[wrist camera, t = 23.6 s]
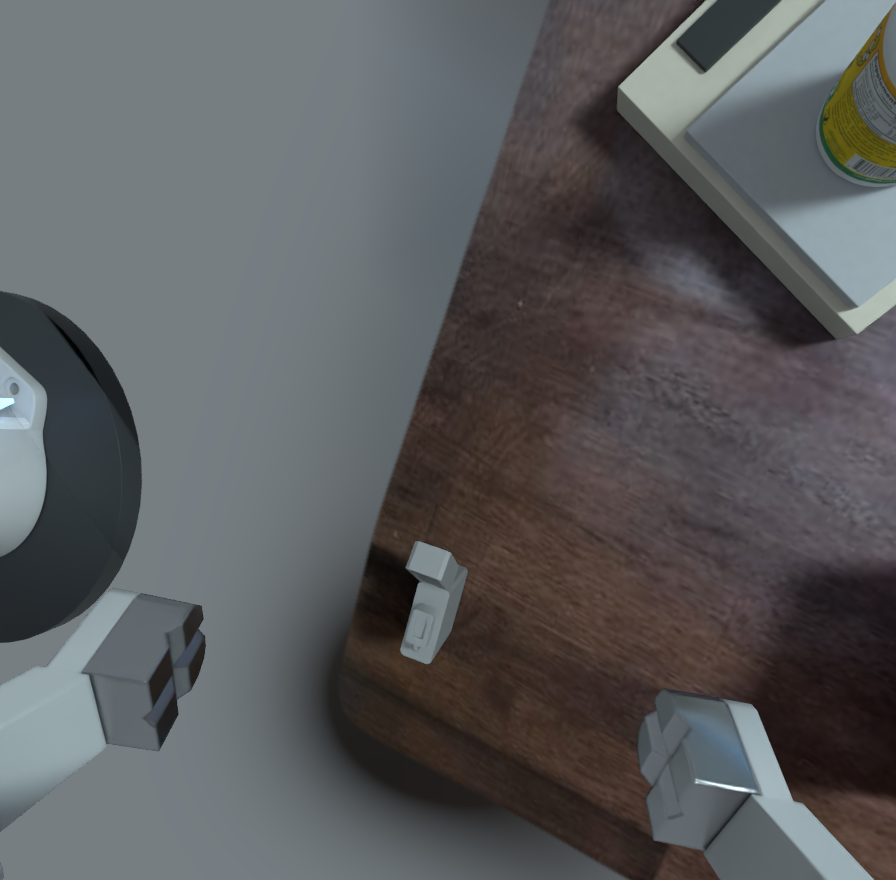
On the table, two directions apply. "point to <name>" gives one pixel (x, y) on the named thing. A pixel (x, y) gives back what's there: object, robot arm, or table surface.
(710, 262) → the table surface
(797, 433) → the table surface
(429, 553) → the lighter
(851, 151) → the supplement bottle
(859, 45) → the kitchen scale
